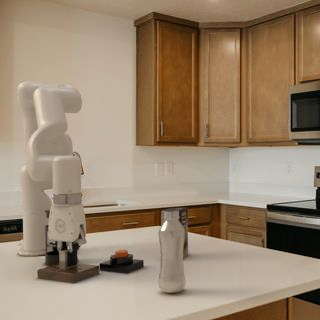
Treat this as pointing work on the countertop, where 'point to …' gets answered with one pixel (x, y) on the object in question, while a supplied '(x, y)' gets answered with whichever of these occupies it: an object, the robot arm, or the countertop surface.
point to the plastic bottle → (171, 253)
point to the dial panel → (68, 273)
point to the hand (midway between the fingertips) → (68, 264)
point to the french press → (53, 255)
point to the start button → (121, 253)
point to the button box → (121, 264)
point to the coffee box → (184, 221)
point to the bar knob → (64, 259)
